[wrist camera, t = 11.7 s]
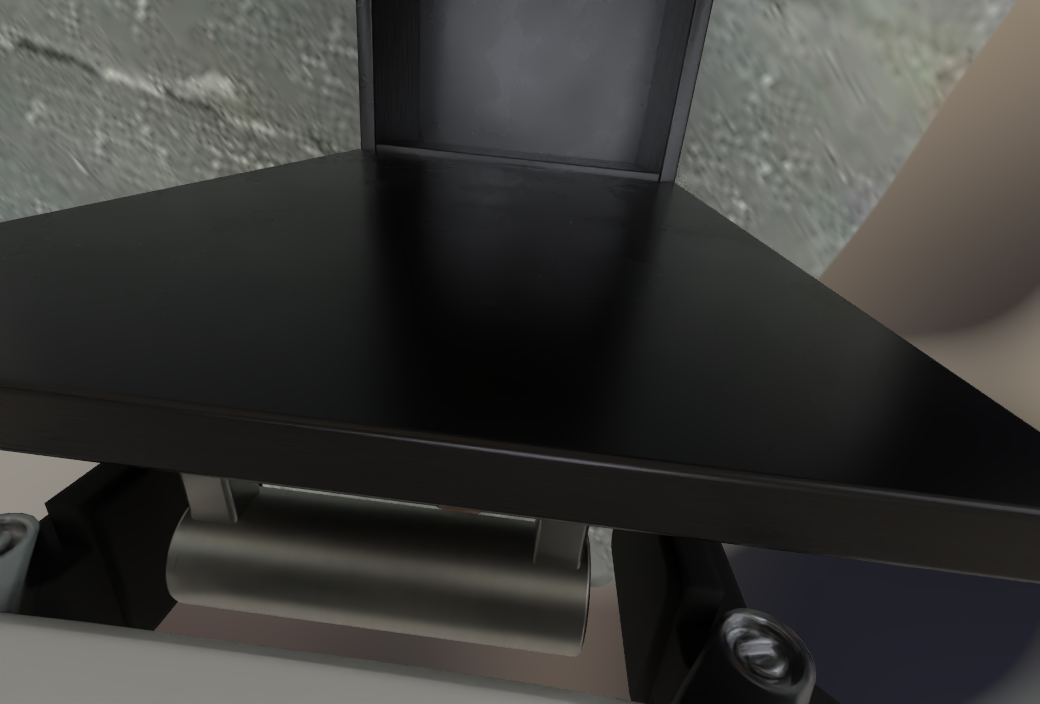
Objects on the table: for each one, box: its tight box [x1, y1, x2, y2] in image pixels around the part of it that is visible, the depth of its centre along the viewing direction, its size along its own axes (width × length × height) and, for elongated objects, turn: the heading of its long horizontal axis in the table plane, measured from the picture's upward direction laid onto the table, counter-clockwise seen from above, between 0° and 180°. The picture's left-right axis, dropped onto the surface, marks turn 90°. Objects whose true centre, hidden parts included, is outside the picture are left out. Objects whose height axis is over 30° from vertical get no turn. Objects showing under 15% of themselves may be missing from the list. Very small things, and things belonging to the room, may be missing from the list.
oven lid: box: [0, 149, 1040, 657], centre depth 14 cm, size 20×14×5 cm
